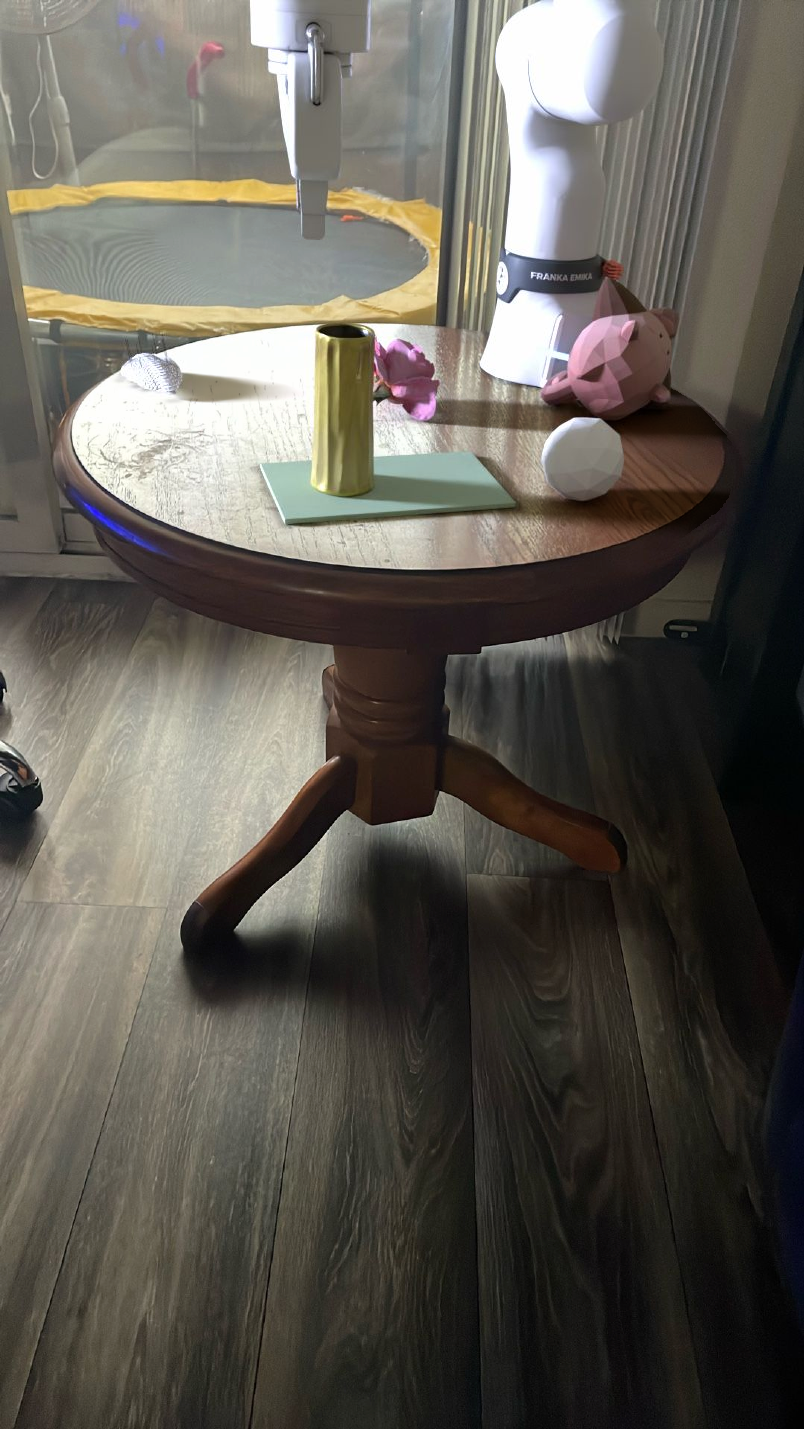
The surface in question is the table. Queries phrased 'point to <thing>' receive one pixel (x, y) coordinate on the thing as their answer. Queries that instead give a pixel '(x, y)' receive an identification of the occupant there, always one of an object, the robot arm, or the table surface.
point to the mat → (390, 489)
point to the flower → (405, 378)
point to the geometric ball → (583, 458)
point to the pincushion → (153, 371)
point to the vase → (343, 410)
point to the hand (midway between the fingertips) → (310, 225)
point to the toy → (618, 358)
